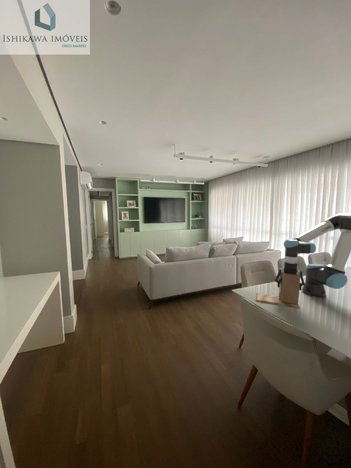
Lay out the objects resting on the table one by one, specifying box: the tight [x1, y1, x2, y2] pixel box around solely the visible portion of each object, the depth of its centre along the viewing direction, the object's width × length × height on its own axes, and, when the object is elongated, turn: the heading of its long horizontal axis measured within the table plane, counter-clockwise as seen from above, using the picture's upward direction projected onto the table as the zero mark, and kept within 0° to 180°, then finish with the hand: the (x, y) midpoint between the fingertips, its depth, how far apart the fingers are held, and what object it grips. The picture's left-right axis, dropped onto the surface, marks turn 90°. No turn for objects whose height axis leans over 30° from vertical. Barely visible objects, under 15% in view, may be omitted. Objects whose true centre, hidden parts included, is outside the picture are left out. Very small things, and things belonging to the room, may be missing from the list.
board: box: [256, 292, 301, 309], centre depth 138 cm, size 26×13×1 cm, turn 68°
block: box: [278, 271, 301, 304], centre depth 134 cm, size 10×10×20 cm
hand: (288, 293), depth 134 cm, fingers closed on block, 10 cm apart
